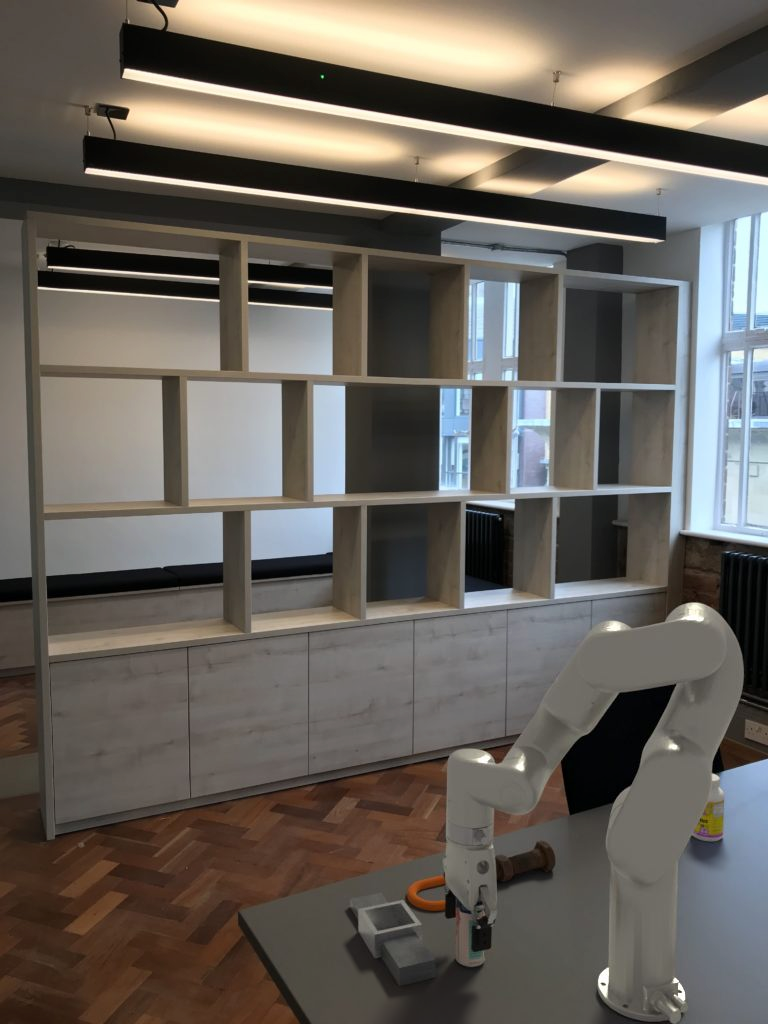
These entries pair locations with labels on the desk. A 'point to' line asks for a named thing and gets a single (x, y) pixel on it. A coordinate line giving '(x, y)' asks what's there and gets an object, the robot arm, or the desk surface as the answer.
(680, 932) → the desk surface
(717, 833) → the supplement bottle
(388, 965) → the bar with square collar
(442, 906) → the metal ring
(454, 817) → the robot arm
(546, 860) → the bolt
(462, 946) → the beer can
